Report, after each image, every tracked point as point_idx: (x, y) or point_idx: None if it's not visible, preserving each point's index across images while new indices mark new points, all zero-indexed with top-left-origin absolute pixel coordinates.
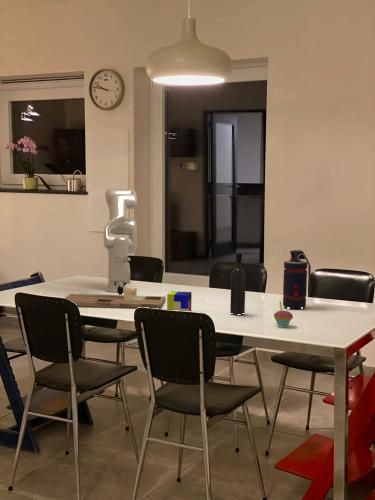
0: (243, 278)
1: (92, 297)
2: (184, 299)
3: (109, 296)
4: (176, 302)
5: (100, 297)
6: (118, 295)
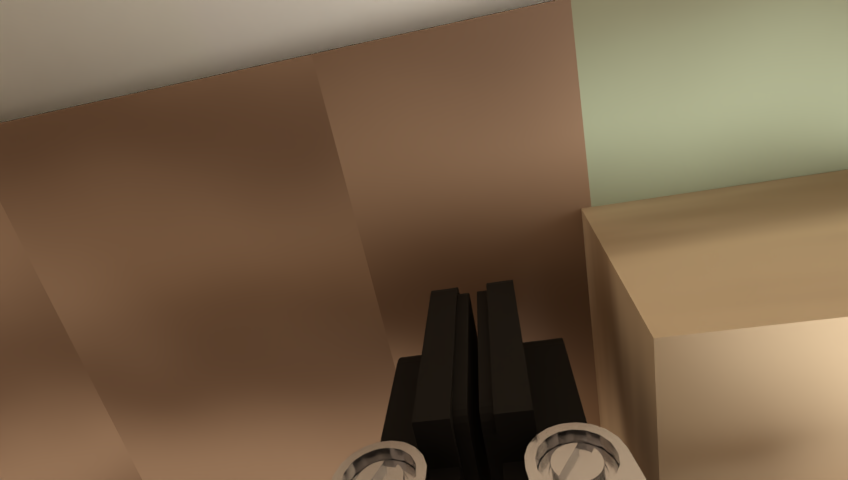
0: None
1: (3, 466)
2: None
3: (214, 287)
4: None
5: (122, 432)
6: (339, 79)
